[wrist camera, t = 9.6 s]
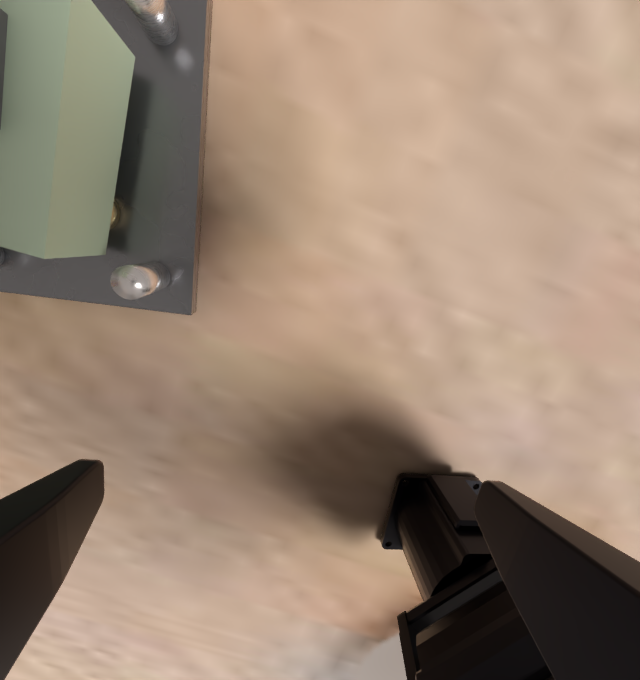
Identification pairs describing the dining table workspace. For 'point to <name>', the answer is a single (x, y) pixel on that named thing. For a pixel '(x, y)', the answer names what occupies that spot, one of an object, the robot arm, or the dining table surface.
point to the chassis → (145, 172)
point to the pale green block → (60, 126)
